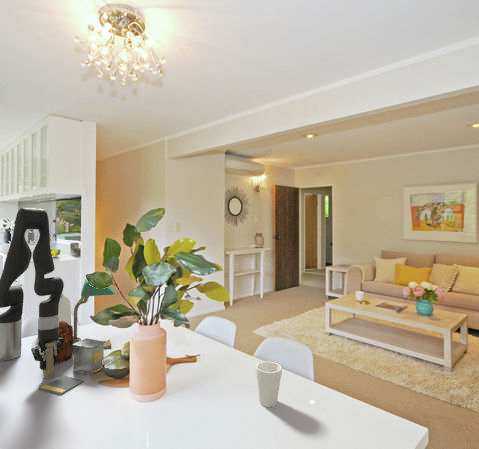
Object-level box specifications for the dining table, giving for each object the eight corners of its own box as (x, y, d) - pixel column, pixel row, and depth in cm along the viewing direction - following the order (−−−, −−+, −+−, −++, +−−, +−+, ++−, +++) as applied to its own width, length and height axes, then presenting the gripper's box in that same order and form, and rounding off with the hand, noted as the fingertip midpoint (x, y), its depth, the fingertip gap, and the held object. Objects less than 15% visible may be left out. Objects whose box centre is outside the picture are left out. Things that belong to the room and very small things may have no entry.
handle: (47, 381, 130) (47, 344, 130) (37, 377, 133) (37, 341, 133) (58, 376, 135) (59, 340, 134) (48, 373, 137) (49, 337, 137)
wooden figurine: (54, 366, 143) (55, 326, 143) (43, 364, 145) (44, 324, 145) (76, 356, 155) (76, 318, 154) (65, 354, 157) (66, 317, 156)
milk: (37, 336, 179) (38, 290, 179) (55, 330, 190) (55, 286, 190) (55, 339, 176) (55, 291, 175) (71, 332, 187) (72, 287, 186)
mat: (39, 389, 124) (39, 387, 124) (63, 376, 134) (63, 375, 134) (60, 395, 120) (60, 393, 120) (83, 381, 131) (84, 379, 131)
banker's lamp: (69, 345, 168) (70, 278, 168) (112, 339, 177) (113, 275, 177) (67, 356, 154) (68, 283, 154) (114, 350, 163) (115, 280, 162)
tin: (71, 371, 139) (72, 344, 139) (85, 363, 147) (86, 338, 147) (91, 375, 136) (91, 348, 136) (104, 367, 143) (105, 341, 143)
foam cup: (259, 411, 112) (260, 374, 112) (251, 397, 121) (252, 362, 121) (285, 407, 115) (285, 371, 115) (275, 394, 124) (276, 360, 124)
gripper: (56, 320, 142) (56, 359, 142) (25, 330, 128) (25, 373, 128) (69, 322, 139) (69, 361, 139) (39, 332, 126) (39, 376, 126)
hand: (48, 367), depth 134 cm, fingers closed on handle, 4 cm apart
